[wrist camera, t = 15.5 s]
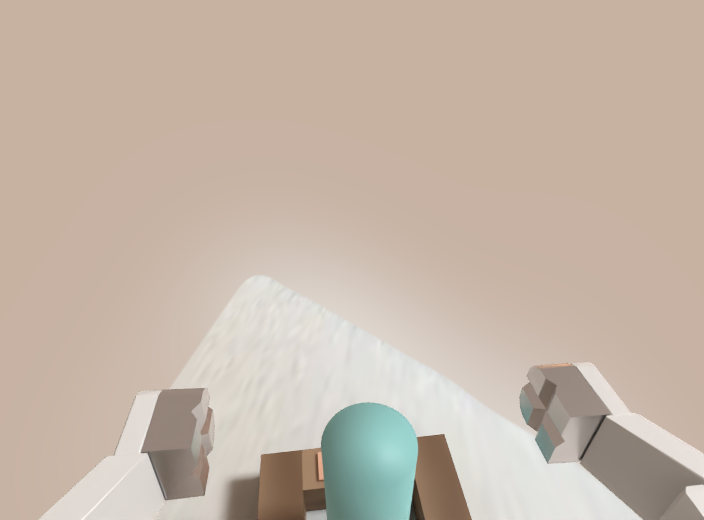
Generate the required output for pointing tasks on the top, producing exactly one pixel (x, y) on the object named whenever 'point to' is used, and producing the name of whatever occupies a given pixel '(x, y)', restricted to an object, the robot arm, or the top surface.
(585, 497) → the top surface
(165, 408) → the robot arm
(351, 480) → the teal peg
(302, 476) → the hole plate
